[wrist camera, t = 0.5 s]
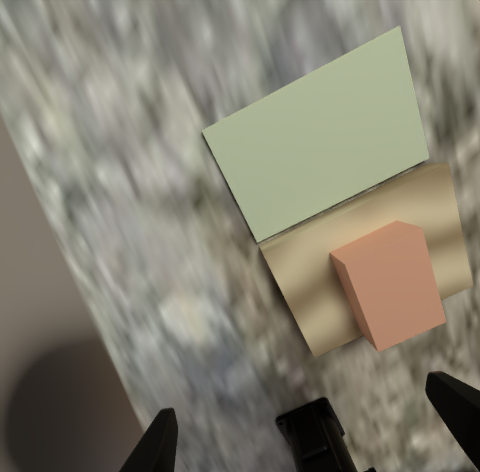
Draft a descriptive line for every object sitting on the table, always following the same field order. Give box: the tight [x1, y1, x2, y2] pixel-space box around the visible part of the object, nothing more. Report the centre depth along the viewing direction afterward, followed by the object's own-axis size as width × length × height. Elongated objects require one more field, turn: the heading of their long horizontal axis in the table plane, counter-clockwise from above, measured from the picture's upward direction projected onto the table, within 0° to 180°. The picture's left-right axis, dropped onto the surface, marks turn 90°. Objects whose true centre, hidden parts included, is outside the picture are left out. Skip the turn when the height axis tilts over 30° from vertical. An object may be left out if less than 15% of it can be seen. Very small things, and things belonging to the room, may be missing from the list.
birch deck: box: [259, 163, 473, 358], centre depth 21 cm, size 12×16×2 cm
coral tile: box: [329, 220, 446, 352], centre depth 19 cm, size 9×6×2 cm, turn 26°
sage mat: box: [202, 25, 429, 243], centre depth 18 cm, size 10×16×1 cm, turn 116°
